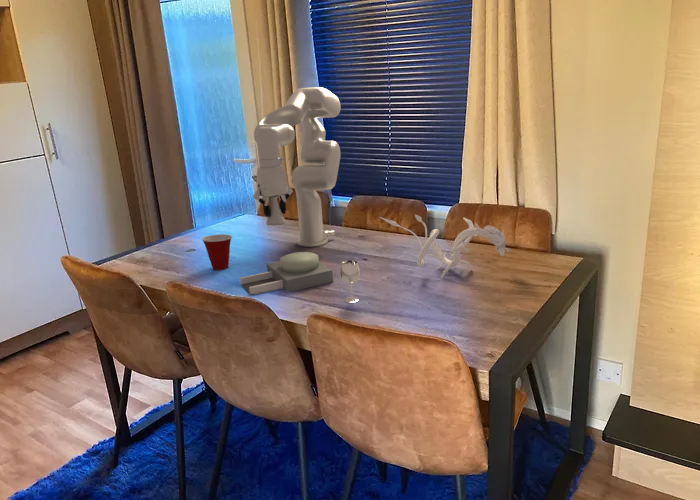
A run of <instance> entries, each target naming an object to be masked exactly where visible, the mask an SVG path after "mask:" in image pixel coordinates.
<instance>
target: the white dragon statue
mask: <svg viewBox="0 0 700 500" xmlns="http://www.w3.org/2000/svg"><path fill="white" fill-rule="evenodd" d="M379 218H380V219H382V220H383V221H384V222H386V223H389V224H390V225H392V227H398V228H401V229H404V230H405V231H407V232H409V233H411V234H412V235H413V236H414V238H416V239H417V242H418V244H419V246H420V253H419V254H418V257H417V261H416V265H417V267H421V268H422V267H423V266H424V264H425V254H426V253H427V251H428V250H429V248H431V250H432V252H433V253H427V254H426V255H427V256H431V257H435V258H436V259H438V260H439V261H440V263H442V264H440V265H439V266H438V267H436V268H435V270H438V269H439V268H441V267H443V266H446V267H445V269H444V270H443V271H442V274H441V276H440V279H443V278H444V276H445V275H446V274H447V273H448V272H449V270H450V269H451V268H454V267H456V266H459V267H461V266H462V265H465V267H466V268H468V270H469V271H472V270H473V269H472V267H471V263H470V262H468V261H466V260H464V259H462V258H461V257H462V256H461V249H462V250H465V251H467V252H469V253H470V252H471V251H470V250H469V248H467V247H466V246H467V245H468V244H469V243H470V241H471V240H472V239H473V237H484V238H487V240H488V241H489V243H491V244H493V245H494V246H495V254H497V252H499V255H500V257H504V256H505V255H506V253H505V252H513V250H512V249H510V248H507V247H506V245H505V244H506V235H507V234H506V233H504V229H502V231H500V229H498V228H497V227H494V226H493V225H487V226H484V227H483V228H481V227H480V226H479V224H478V223H476V222H475V226H474V224H473V221H472V220H471V219H468V218H466V217H463V220H464V222H466V224H467V225H468V228H466V229H464V230H462V231H461V232H459V233H458V235H457V236H455V240H454V242H453V246H452V249H451V250H450V252H449V253H448V255H449V256H450V257H449V258H447V257H446V254H447V251H445V252H444V251H443V250H442V248H443V247H442V244H440V248H439V245H438V243H437V237H438V236H439V235H440V230H439V229H438V228H435V229H431V231H430V234H429V236H428V229H427V225H426V223H425V222H424V221H423V220H422V219H423V218H422V217H421V216H420V215H418V214H415V213H414V218H415V219H416V221H417V222H419V223H421V224H422V225H423V226H424V235H425V237H424V242H423V244H422V242H421V240H420V237H418V235H417V234H416V233H415V232H413V230H411V229H408V228H407V227H404V226H401V225H399V224H398V223H397V222H396V221H394V220H391V219H388V218H385V217H381V216H379ZM451 253H452V254H451ZM459 262H460V263H461V264H462V265H461V264H459Z"/></svg>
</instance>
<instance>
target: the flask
mask: <svg viewBox="0 0 700 500" xmlns="http://www.w3.org/2000/svg"><path fill="white" fill-rule="evenodd" d="M278 198H279V196H272V197H269V199H270V200H269V201H270V205H269V206H270V215H271V216H270V217H268V216H267V219H266V225H267V226H271V227H272V226H282V225H284V224H287V221H286V219H285V217H284V214H283V213H282V212H281V210H280V207H279V201H278Z"/></svg>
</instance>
